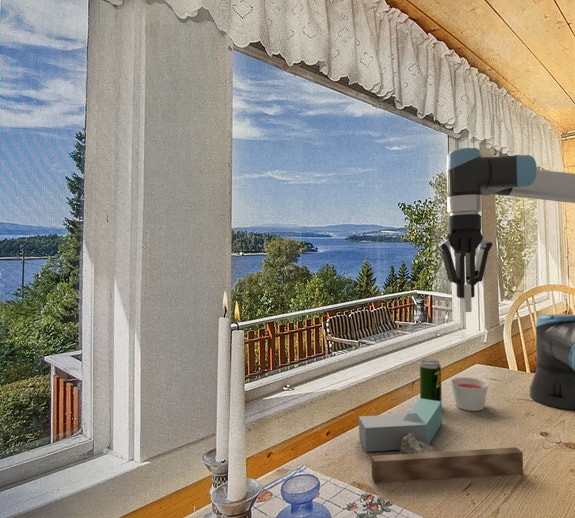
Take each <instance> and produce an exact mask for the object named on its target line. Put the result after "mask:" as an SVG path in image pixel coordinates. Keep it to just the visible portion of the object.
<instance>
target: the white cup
mask: <svg viewBox="0 0 575 518" xmlns="http://www.w3.org/2000/svg"><path fill="white" fill-rule="evenodd" d="M450 383H451V384H450V385H451V388H452V393H453V399H454V403H455V406H456V407H457V408H459V409H461V410H464V411H469V412H478V411H481V410H484V408H485V405H486V401H487V400H486V399H487V393H488V389H489V383H488V382H487V381H485V380H483V379H479V378H474V377H465V376H464V377H455V378H453V379H451V380H450Z"/></svg>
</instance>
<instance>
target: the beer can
mask: <svg viewBox="0 0 575 518" xmlns="http://www.w3.org/2000/svg"><path fill="white" fill-rule="evenodd" d="M419 390H420V391H419V393H420V395H419V399H420V398H422V399H428V400H434V401H441V402H442V399H443V398H442V396H443V395H442V393H443V392H442V364H441V361H439V360H436V359H431V358H430V359H421V360H420V363H419ZM442 403H443V402H442Z"/></svg>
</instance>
